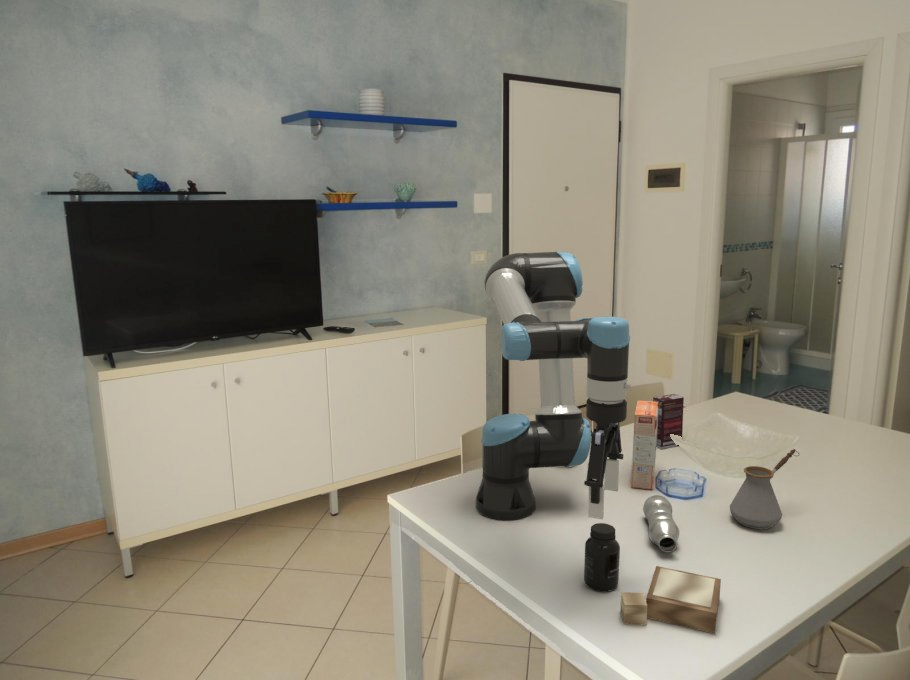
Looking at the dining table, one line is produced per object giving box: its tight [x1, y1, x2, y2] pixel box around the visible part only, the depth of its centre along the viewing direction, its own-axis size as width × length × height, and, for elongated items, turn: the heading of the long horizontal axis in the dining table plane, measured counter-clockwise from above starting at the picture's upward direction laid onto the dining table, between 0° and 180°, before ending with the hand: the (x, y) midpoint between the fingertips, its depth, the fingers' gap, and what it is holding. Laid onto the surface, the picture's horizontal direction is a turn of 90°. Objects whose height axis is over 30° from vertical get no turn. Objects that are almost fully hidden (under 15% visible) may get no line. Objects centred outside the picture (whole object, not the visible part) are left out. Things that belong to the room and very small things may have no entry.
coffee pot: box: [729, 448, 801, 530], centre depth 160 cm, size 21×12×15 cm, turn 124°
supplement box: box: [652, 393, 685, 450], centre depth 208 cm, size 9×5×16 cm, turn 114°
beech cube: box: [620, 591, 648, 626], centre depth 122 cm, size 4×4×4 cm
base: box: [645, 565, 722, 634], centre depth 125 cm, size 12×12×4 cm
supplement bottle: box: [583, 522, 621, 593], centre depth 133 cm, size 7×7×12 cm
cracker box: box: [630, 400, 658, 491], centre depth 182 cm, size 14×6×21 cm, turn 161°
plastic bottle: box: [642, 494, 680, 553], centre depth 152 cm, size 6×7×20 cm
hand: (603, 503), depth 130 cm, fingers open, 13 cm apart
